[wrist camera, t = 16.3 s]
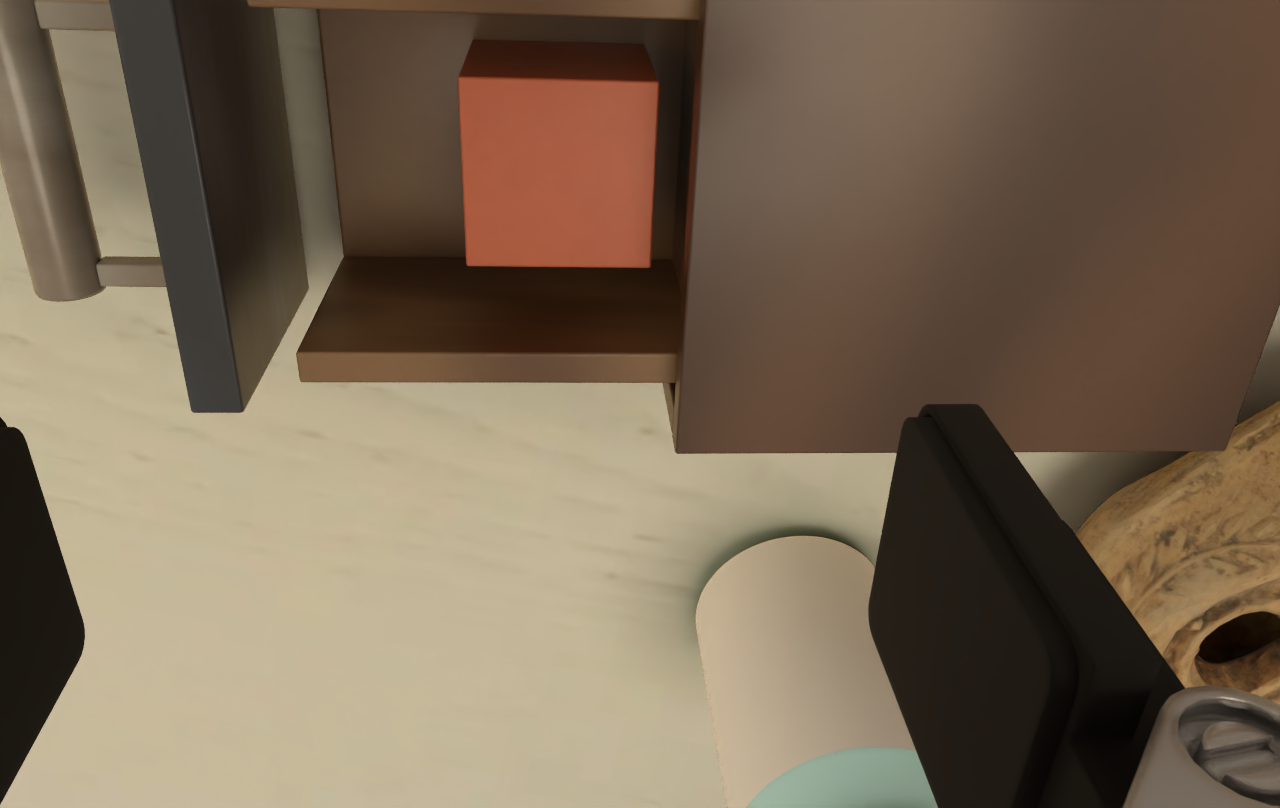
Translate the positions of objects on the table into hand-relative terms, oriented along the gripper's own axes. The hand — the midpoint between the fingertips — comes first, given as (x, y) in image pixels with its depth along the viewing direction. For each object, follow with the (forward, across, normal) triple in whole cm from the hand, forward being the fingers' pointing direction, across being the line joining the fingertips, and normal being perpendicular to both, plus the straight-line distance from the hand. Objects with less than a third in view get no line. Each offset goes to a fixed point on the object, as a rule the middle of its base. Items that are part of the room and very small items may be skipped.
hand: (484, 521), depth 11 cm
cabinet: (+20, -10, +1) cm, 23 cm away
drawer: (+19, +3, +1) cm, 20 cm away
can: (+20, -9, +19) cm, 29 cm away
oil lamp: (+20, -23, +15) cm, 34 cm away
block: (+18, -1, +1) cm, 18 cm away
